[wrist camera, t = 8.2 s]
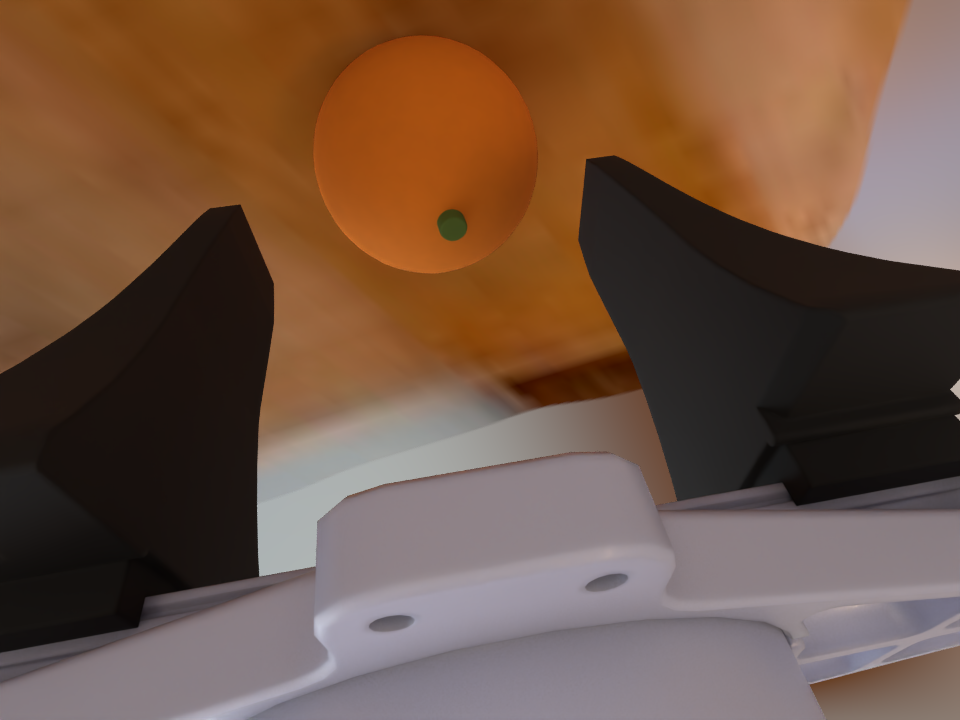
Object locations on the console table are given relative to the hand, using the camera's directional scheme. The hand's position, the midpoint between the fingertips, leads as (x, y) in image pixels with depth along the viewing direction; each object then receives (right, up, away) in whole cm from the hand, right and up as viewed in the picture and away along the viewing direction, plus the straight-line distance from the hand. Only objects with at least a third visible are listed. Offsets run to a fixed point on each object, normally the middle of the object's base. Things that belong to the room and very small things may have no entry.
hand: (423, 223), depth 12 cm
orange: (-1, +4, +4) cm, 5 cm away
